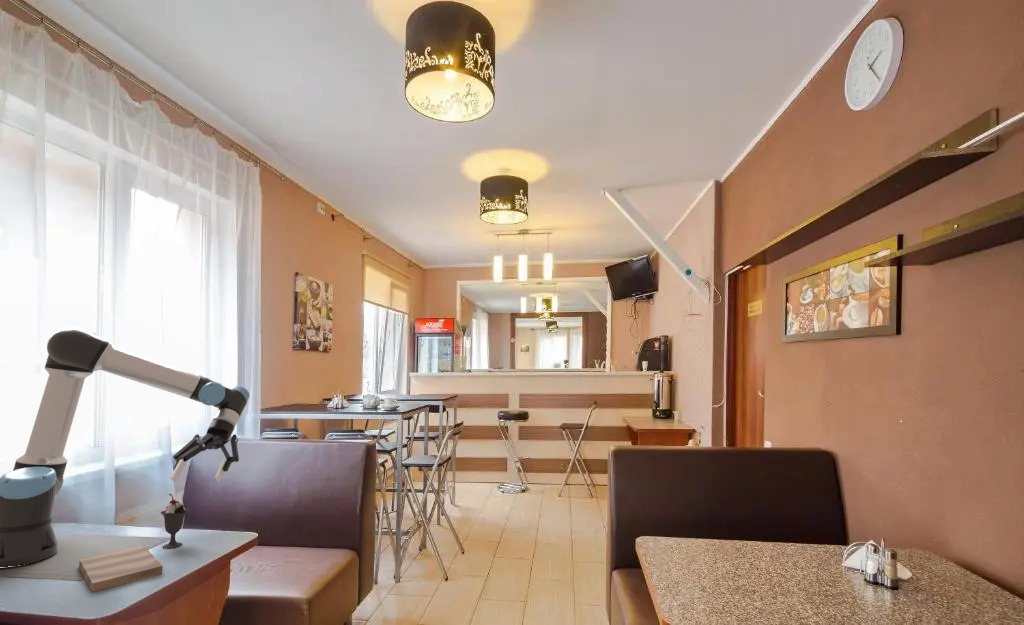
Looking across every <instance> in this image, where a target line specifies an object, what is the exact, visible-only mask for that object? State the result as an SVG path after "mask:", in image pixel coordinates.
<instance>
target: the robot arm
mask: <svg viewBox="0 0 1024 625" xmlns="http://www.w3.org/2000/svg"><path fill="white" fill-rule="evenodd" d="M46 344H47V345H46V350H47V353H48V354H47V358H46V362H45V365H44V369H45V371H46V372H47V373H48V378H47V381H46V384H45V386H44V391H43V394H42V397H41V400H40V404H39V407H38V410H37V412H36V413H37V414H36V416H35V417H36V418H35V420H34V423H33V427H32V430H31V433H30V436H29V440H28V443H27V447H26V449H25V453H24V454H23V455H21V456H19V457H18V458H16V460H15V463H14V466H13V469H12V471H8V472H6V473H5V474H2V476H1V477H0V567H8V566H18V565H23V566H25V565H24V564H27V565H30V564H29V563H31V564H33V562H35V563H38V562H41V561H44V560H46V559H48V558H51V557H53V556H54V555H56V554H57V553H58V548H59V543H58V542H59V541H58V539H57V537H56V533H55V531H54V528H53V525H52V524H53V513H54V502H55V498H56V495H57V494H58V493H59V492H60V490H61V488H62V486H63V484H64V475H65V471H66V467H67V464H68V459H66V457H65V456H64V452H65V449H66V444H67V442H68V438H69V434H70V431H71V428H72V425H73V422H74V417H75V414H76V411H77V407H78V405H79V400H80V397H81V394H82V392H83V387H84V383H85V380H86V378H87V377H89V376H91V375H93V374H94V372H97V371H103V372H106V373H108V374H109V373H110V374H113V375H115V376H117V377H118V376H119V377H122V378H125V379H126V380H127V379H129V380H131V381H134V382H137V383H140V384H143V385H147V386H149V387H153V388H156V389H160V390H161V391H166V392H168V393H172V394H175V395H177V396H180V397H184V398H186V399H190V400H192V401H195V402H200V403H202V404H203V405H205V406H212V407H215V408H217V411H216V413H215V415H214V417H213V419H212V420H211V422H210V425H209V426H208V428H207V430H206V434H205V435H204V436H200V435H199V434H198V433H196V434H194V436H193V437H192V438H191V440H189V442H188V443H187V444H185V445H184V446H182V448H181V449H179V450H178V451H177V452H175V454H173V455H172V458H173V459H174V460H175V464H174V466H173V472H172V473H171V475H170V479H171V480H172V482H173V483H177V482H178V480H179V478H180V475H181V474H182V472H183V470H184V468H185V467H186V462H187V461H189V460H190V459H192V458H194V457H195V456H196V455H198V454H200V453H202V452H204V451H206V450H207V449H208V450H218V449H220V450H221V451H222V453H223V455H224V457H225V458H224V459H222V461H221V463H220V466H219V467H218V469H217V472H216V474H215V476H214V479H215V481H217V483H220V482H222V479H223V476H224V474H225V472H228V471H229V468H230V467H231V465H232V463H237V462H239V461H240V459H239V458H240V457H239V449H238V441H239V438H238V436H237V435H236V434H233V432H234V430H235V428H236V426H237V424H238V422H239V419H240V417H241V416H242V413H243V412H244V409H245V407H247V406H246V405H248V401H249V399H250V392H249V390H248V389H246V388H245V387H244V386H238V385H233V386H231V387H229V388H228V387H227V386H224V385H222V383H219V382H217V381H214V380H212V379H210V378H208V377H205V376H203V375H199V374H198V375H196V374H193V373H190V372H187V371H184V370H182V369H179V368H176V367H173V366H170V365H168V364H164V363H162V362H159V361H156V360H153V359H150V358H146V356H145V357H144V356H141V355H138V354H136V353H133V352H131V351H127V350H124V349H121V348H119V347H116V346H114V344H113V342H112V341H109V340H106V339H105V338H101V337H100V336H98V335H97V334H96V333H95V332H93V331H91V330H89V329H85V328H83V327H78V326H77V327H76V326H72V327H71V326H69V327H65V328H62V329H59V330H57V331H56V332H54V333H53V334H51V336H50V337H49V339H48V341H47V343H46ZM227 443H230V446H231V452H232V456H231V455H230V454H229V452H228V450H227V448H226V446H225V445H226V444H227ZM43 559H44V560H43ZM40 560H41V561H40ZM37 561H38V562H37ZM18 567H19V566H18Z"/></svg>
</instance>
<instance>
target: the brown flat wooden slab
mask: <svg viewBox="0 0 1024 625" xmlns="http://www.w3.org/2000/svg"><path fill="white" fill-rule="evenodd" d="M163 567H164V566H163V564H162V563H161V562H160V561H159V560H158V559H157V558H156V557H155V555H154V554H152V553H151V551H150V550H149V549H148V548H147V547H146V546H145V545H140V546H139V545H138V546H135V547H130V548H126V549H122V550H121V549H120V550H117V551H113V552H112V551H111V552H107V553H104V554H98V555H95V556H94V555H93V556H90V557H86V558H82V559H79V561H78V569H79V571H80V572H81V574H82V576H83V578H84V581H85V582H86V583H87V585H88V586H87V587H90V588H89V589H90V591H91V592H92V593H94V592H93V591H95V592H98V591H101V590H105V589H109V588H114V587H117V586H121V585H124V584H125V585H126V584H128V583H132V582H133V583H134V582H135V581H136V582H137V581H140V580H143V579H147V578H151V576H152V577H155V576H158V575H162V574H163Z"/></svg>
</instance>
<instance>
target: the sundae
mask: <svg viewBox="0 0 1024 625" xmlns="http://www.w3.org/2000/svg"><path fill="white" fill-rule="evenodd" d="M169 496H171V500H170V501H169V504H168V505H166V507H165V510H162V511H161V512H160V514H161V515H162V516H163V518H164V529H165V532H167V533H168V534H169V535H170V539H169V542H168V543H165V544H164V545H163V546H162V547H163V548H165V549H164V550H171V548H173V549H177V548H180V547H182V546H183V543H182V542H179V541H177V540H176V534H177V533H179V531H181V529H182V527H183V524H184V519H185V514H186V512H187V511H188V510H189V508H185V506H184V504H182V503H181V501H179V500H176V499H174V496H173V495H172V493H169ZM179 546H180V547H179ZM176 547H177V548H176ZM163 548H162V549H163ZM166 548H167V549H166Z"/></svg>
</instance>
